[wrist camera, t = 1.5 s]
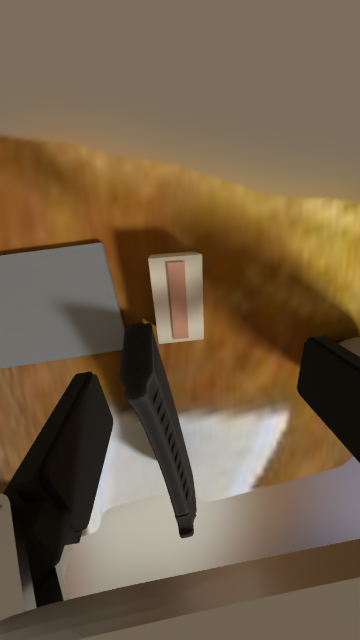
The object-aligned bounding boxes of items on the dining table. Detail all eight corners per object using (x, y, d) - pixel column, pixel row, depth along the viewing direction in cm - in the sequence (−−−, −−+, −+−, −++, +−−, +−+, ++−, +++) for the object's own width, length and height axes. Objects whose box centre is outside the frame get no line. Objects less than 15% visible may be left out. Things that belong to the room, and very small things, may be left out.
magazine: (99, 342, 15) (179, 634, 19) (139, 333, 15) (211, 626, 19) (137, 318, 32) (175, 475, 36) (156, 314, 32) (192, 471, 36)
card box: (196, 322, 26) (204, 340, 21) (158, 326, 25) (158, 345, 21) (194, 251, 22) (202, 254, 18) (150, 254, 22) (148, 258, 17)
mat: (129, 346, 26) (129, 348, 25) (-26, 370, 25) (-30, 373, 24) (102, 242, 21) (101, 242, 20) (-95, 268, 20) (-103, 268, 19)
